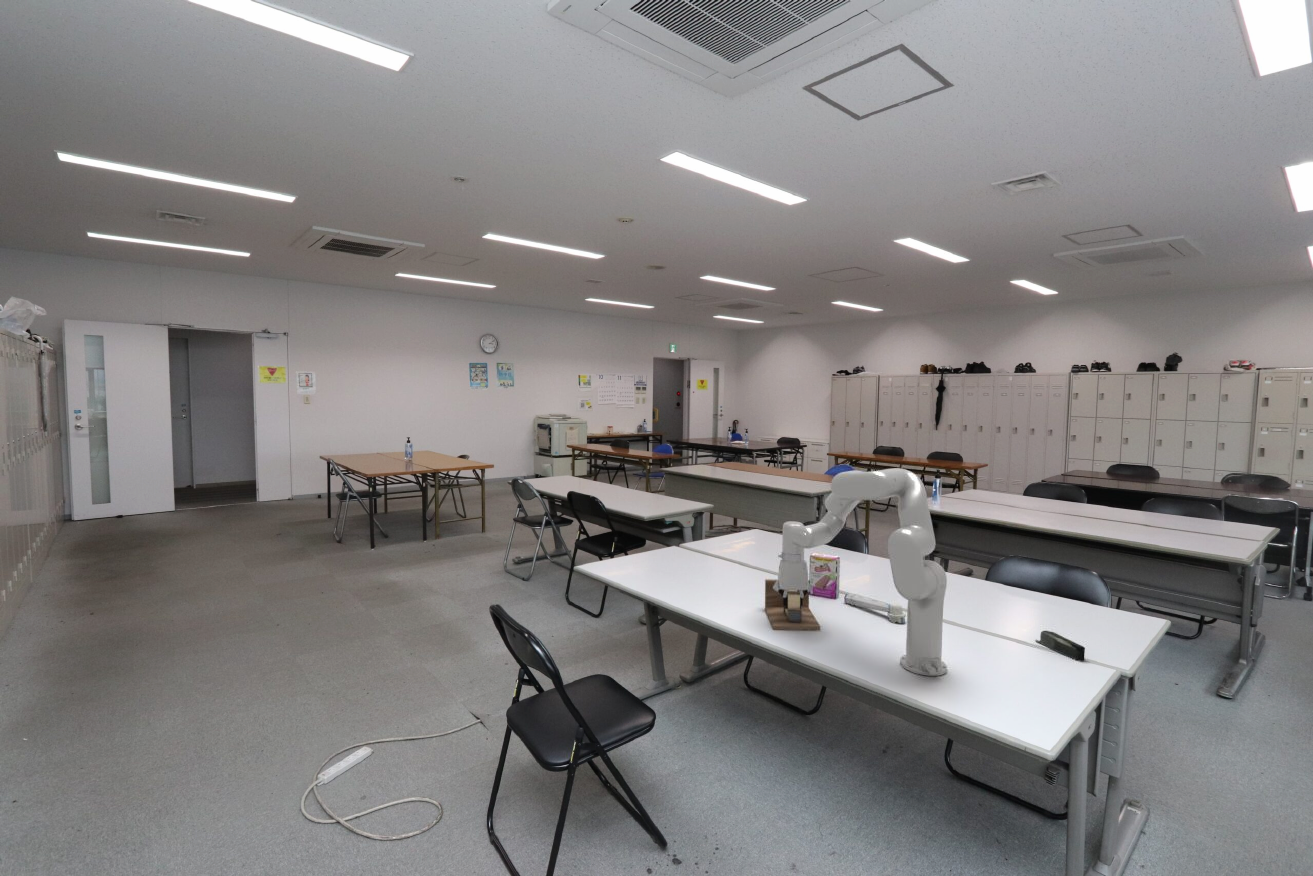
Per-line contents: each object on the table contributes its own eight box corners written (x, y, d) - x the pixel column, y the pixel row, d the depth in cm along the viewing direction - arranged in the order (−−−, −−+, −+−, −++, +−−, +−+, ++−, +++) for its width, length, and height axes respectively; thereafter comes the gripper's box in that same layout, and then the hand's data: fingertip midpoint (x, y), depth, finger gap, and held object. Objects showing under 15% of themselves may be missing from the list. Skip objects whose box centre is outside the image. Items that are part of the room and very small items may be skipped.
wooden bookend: (820, 630, 199) (820, 597, 198) (773, 629, 200) (773, 597, 199) (807, 610, 218) (808, 579, 218) (764, 609, 219) (765, 579, 218)
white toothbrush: (851, 592, 227) (907, 602, 206) (853, 609, 227) (909, 621, 206) (842, 594, 225) (898, 605, 203) (843, 611, 224) (900, 624, 203)
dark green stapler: (1087, 646, 175) (1041, 626, 190) (1079, 647, 174) (1034, 627, 189) (1085, 662, 176) (1040, 641, 190) (1078, 663, 175) (1033, 642, 189)
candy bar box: (808, 595, 235) (809, 555, 234) (811, 591, 239) (812, 552, 238) (836, 599, 229) (837, 558, 228) (839, 596, 234) (840, 555, 233)
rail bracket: (799, 617, 204) (800, 595, 203) (788, 617, 204) (788, 595, 204) (796, 611, 210) (796, 590, 209) (785, 611, 210) (785, 589, 210)
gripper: (771, 559, 202) (770, 611, 203) (819, 560, 202) (818, 611, 203) (767, 554, 210) (767, 603, 211) (814, 554, 209) (813, 604, 210)
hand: (792, 607), depth 207 cm, fingers closed on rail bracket, 4 cm apart
